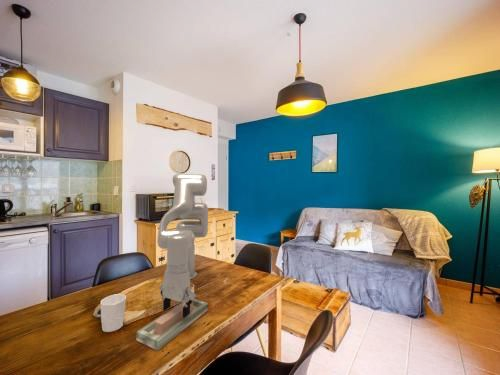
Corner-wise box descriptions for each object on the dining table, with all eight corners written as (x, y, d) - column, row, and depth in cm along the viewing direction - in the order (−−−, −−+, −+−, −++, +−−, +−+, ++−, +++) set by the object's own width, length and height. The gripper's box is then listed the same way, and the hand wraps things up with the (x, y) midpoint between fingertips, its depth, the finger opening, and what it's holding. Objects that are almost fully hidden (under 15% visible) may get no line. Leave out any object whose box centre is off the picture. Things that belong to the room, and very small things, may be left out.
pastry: (100, 305, 95) (100, 297, 95) (118, 304, 97) (118, 295, 97) (91, 318, 86) (92, 308, 86) (111, 316, 88) (111, 306, 88)
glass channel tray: (136, 340, 74) (136, 331, 74) (189, 304, 98) (189, 297, 98) (157, 350, 70) (158, 341, 70) (207, 310, 94) (207, 303, 93)
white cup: (98, 336, 76) (99, 307, 76) (101, 323, 83) (102, 296, 83) (124, 329, 80) (125, 301, 80) (125, 317, 87) (126, 292, 87)
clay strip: (154, 332, 77) (154, 321, 77) (186, 310, 91) (186, 300, 91) (161, 336, 76) (161, 324, 75) (192, 312, 90) (193, 302, 90)
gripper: (152, 266, 84) (151, 311, 84) (188, 275, 77) (187, 324, 77) (168, 260, 91) (167, 301, 91) (202, 268, 83) (201, 313, 84)
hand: (176, 312), depth 84 cm, fingers open, 9 cm apart
